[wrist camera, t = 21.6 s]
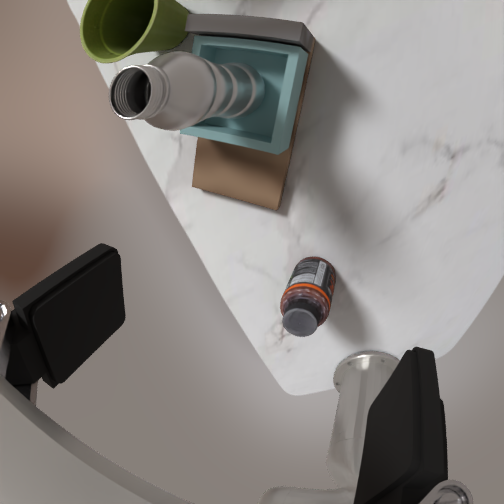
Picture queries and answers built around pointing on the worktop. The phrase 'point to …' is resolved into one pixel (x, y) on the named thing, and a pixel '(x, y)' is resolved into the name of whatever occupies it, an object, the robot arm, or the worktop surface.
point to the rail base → (239, 157)
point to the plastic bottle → (185, 91)
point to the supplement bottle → (308, 296)
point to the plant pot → (131, 27)
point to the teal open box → (275, 100)
